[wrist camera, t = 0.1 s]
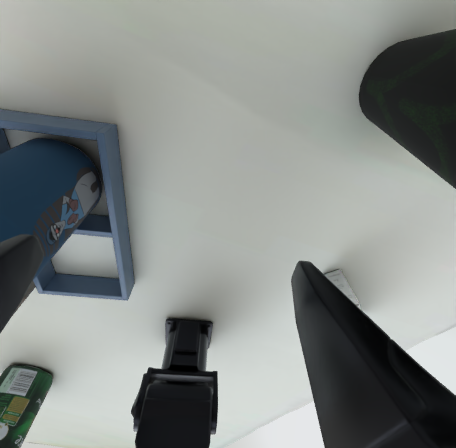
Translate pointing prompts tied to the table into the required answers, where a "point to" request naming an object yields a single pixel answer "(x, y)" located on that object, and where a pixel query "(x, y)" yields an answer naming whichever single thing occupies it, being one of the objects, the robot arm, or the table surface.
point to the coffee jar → (20, 402)
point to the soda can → (46, 192)
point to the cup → (417, 99)
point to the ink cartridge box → (342, 285)
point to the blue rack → (91, 224)
